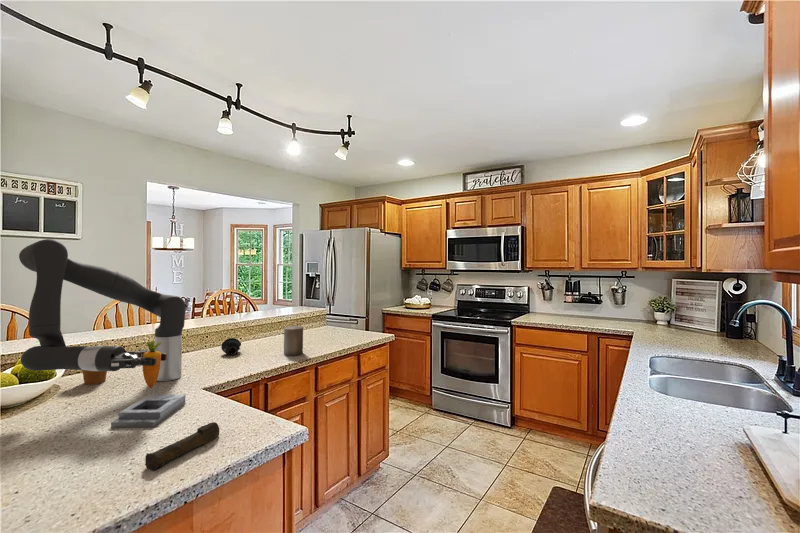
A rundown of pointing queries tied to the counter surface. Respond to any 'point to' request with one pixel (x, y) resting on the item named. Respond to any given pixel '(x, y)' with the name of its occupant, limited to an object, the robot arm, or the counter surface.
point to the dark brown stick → (182, 446)
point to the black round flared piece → (231, 346)
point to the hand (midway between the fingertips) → (160, 359)
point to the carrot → (152, 371)
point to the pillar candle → (293, 340)
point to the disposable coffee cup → (94, 377)
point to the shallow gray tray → (149, 411)
